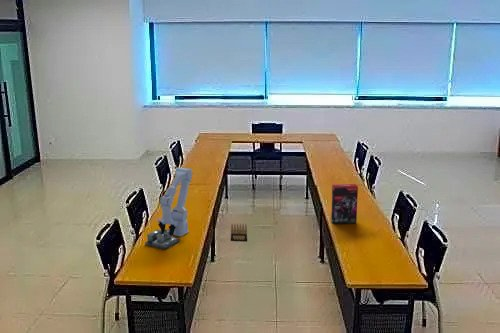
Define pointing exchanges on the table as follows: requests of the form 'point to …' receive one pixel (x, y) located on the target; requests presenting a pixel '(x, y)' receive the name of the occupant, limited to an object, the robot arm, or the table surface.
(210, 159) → the table surface
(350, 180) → the table surface
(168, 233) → the cylinder
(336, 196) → the graphics card box
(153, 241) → the dial scale
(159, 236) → the cylinder
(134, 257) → the table surface
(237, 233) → the ammunition clip
